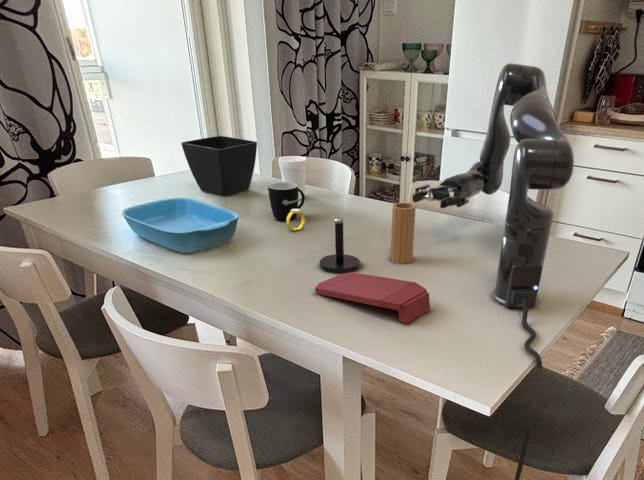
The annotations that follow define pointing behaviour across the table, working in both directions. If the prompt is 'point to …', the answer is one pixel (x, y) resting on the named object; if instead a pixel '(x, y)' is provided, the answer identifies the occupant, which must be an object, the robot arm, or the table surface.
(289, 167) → the foam cup
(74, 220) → the table surface
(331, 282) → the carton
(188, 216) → the casserole dish
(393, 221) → the wooden tube
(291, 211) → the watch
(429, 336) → the table surface
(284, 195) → the mug
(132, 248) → the table surface
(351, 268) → the stand
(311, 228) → the table surface
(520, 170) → the robot arm
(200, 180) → the flower pot
